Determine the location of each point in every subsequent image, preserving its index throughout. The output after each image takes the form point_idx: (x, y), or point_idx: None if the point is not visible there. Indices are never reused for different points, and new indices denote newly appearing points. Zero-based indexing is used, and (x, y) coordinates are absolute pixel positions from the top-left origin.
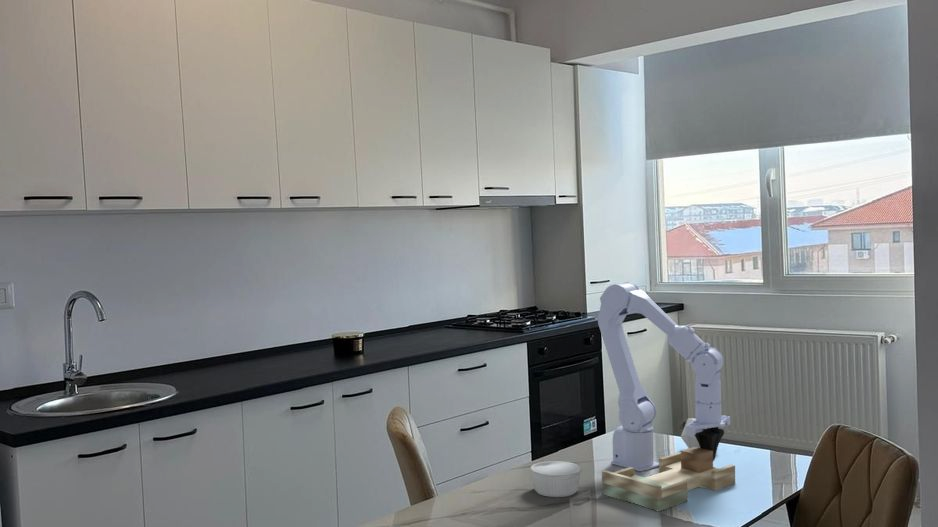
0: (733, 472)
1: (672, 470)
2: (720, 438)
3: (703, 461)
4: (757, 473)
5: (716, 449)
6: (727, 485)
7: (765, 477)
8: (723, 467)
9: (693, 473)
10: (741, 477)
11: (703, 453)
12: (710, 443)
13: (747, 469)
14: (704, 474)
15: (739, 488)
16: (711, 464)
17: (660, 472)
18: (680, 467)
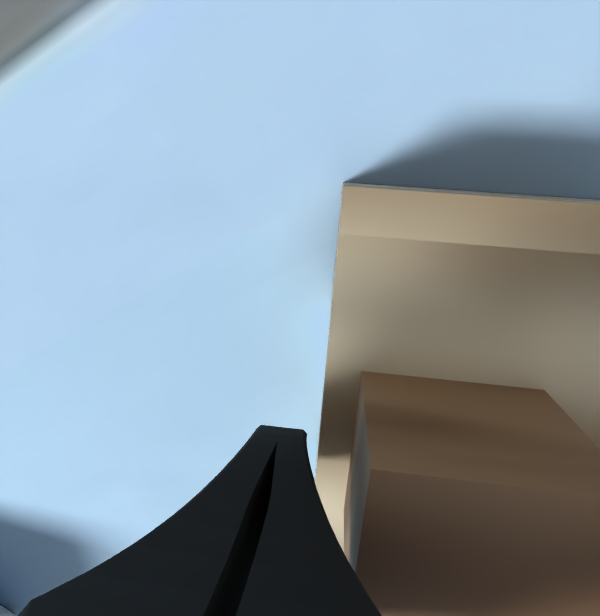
0: (369, 186)
1: None
2: (135, 560)
3: (527, 435)
4: (30, 186)
5: (227, 477)
6: (445, 189)
7: (60, 90)
8: (485, 240)
9: (588, 417)
10: (187, 222)
11: (547, 498)
12: (350, 571)
13: (13, 280)
14: (566, 344)
15: (436, 92)
16: (387, 391)
17: None
18: None
